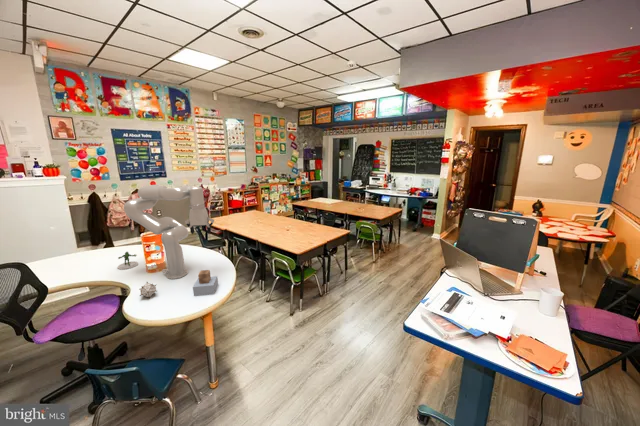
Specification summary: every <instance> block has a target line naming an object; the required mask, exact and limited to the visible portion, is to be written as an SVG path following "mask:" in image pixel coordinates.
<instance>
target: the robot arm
mask: <svg viewBox="0 0 640 426" xmlns="http://www.w3.org/2000/svg"><path fill="white" fill-rule="evenodd" d="M137 196H138V197H137V198H132V199H129V200H127V201H126V202H125V203H124V204H123V211H124V213H125V216H127V217H128V218H129V219H130V220H132V221H133V222H135V223H137V224H139V225H140V226H142V227H144V228H145V229H147V231H150V232H151V233H153V234H154V235H161V242H162V245H163V247H164V252H165V259H166V264H167V268H163V269H162V274H166V279H169V280H177V279H181V278H183V277H185V276H187V275H188V273H189V271H188V269H186V267H185V261H184V252H183V248H182V246H181V245H180V242H181V241H182V240H184V239H186V238H188V236H189V231H190V233H191V235H194V233H195V227H196V226H206V231H207V234H210V233H211V232H212V228H211V226H212V225H213V224H214V222H215V219H213V218H210V217H209V215H208V210H207V208H206V207H205V206H206V205H205V197H204V189H203V187H202V186H200V185H198V186H197V185H196V186H195V185H194V186H192V185H183V186H177V187H167V186H165V185H158V184H150V185H144V186H141V187H140V188H139V189H138V190H137ZM184 199H189V202H190V204H189V205H188V208H190V209H189V215H188V216H189V217H188V218H187V219H185V220H184V223H185V225H186V226H187V227H188V228H189V230H188V228H187V227H186V226H185V225H183V224H182V223H180V222H179V221H177V220H176V219H174V218H173V217H170V216H164V217H163V216H162V217H161V218H157V217H156V216H154V215H152V214H151V213H148V212H145V211H147V210H150V209H152V208H154V207H155V205H156V204H157V203H158V201H161V200H162V201H181V200H184ZM194 226H195V227H194Z"/></svg>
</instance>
